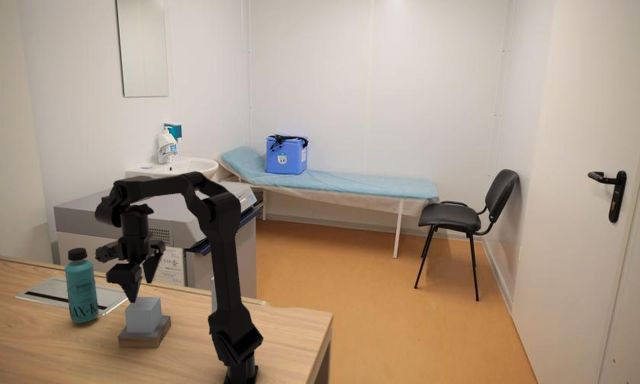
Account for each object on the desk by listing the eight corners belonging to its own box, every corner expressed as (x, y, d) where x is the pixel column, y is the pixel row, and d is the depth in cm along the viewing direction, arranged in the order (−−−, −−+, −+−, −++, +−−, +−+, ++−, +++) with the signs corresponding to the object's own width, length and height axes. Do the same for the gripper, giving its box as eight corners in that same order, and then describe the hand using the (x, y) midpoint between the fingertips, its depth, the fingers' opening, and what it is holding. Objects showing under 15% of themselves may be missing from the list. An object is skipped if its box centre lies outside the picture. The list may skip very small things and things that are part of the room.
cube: (152, 332, 94) (150, 310, 93) (127, 332, 94) (124, 309, 93) (162, 318, 100) (160, 297, 98) (138, 318, 100) (136, 296, 98)
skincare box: (227, 322, 104) (225, 280, 101) (211, 320, 105) (209, 278, 102) (236, 310, 110) (235, 270, 107) (221, 308, 111) (220, 268, 108)
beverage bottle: (65, 323, 102) (54, 251, 97) (90, 311, 108) (81, 242, 103) (81, 331, 99) (70, 257, 94) (106, 318, 105) (97, 247, 100)
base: (157, 347, 93) (156, 336, 93) (119, 347, 93) (117, 336, 93) (171, 325, 102) (170, 315, 101) (135, 325, 102) (134, 314, 101)
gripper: (119, 217, 100) (125, 274, 104) (76, 245, 82) (85, 313, 86) (164, 218, 100) (168, 275, 104) (130, 247, 82) (137, 314, 86)
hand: (141, 292), depth 95 cm, fingers open, 9 cm apart
